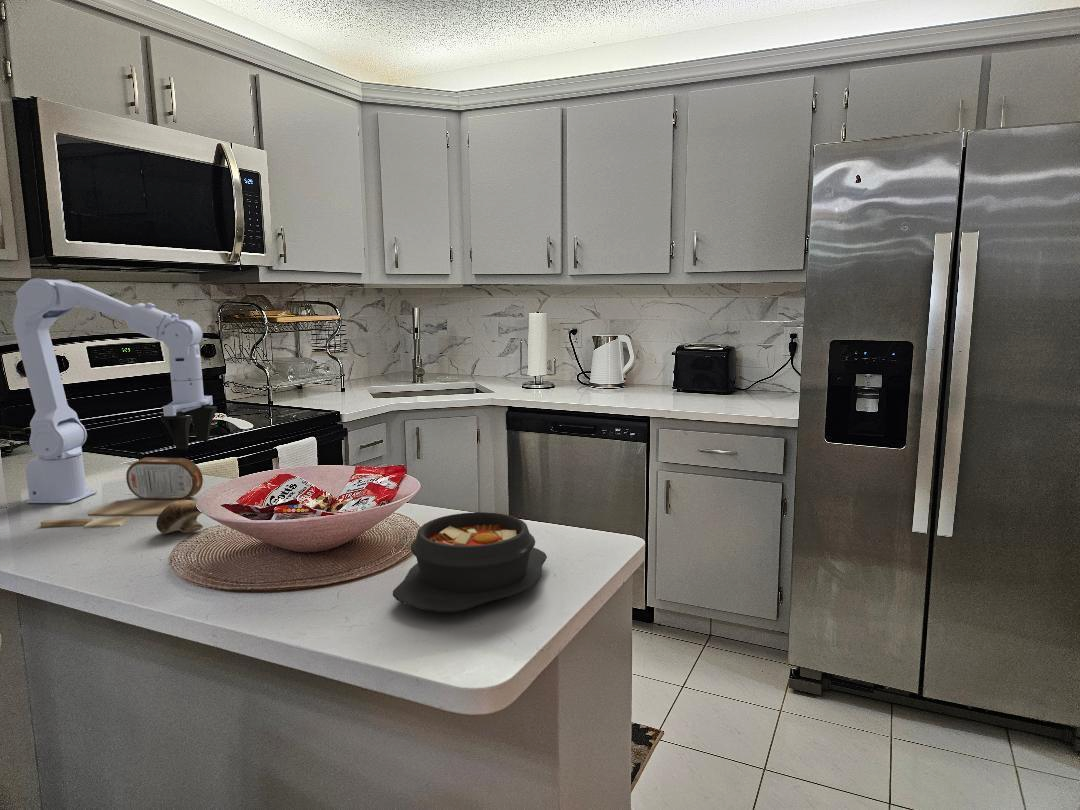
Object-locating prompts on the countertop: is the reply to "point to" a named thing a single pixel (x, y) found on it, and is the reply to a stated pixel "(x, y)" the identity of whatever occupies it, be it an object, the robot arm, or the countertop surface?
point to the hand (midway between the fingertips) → (192, 445)
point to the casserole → (470, 562)
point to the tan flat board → (133, 508)
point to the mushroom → (179, 517)
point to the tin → (164, 478)
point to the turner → (87, 522)
